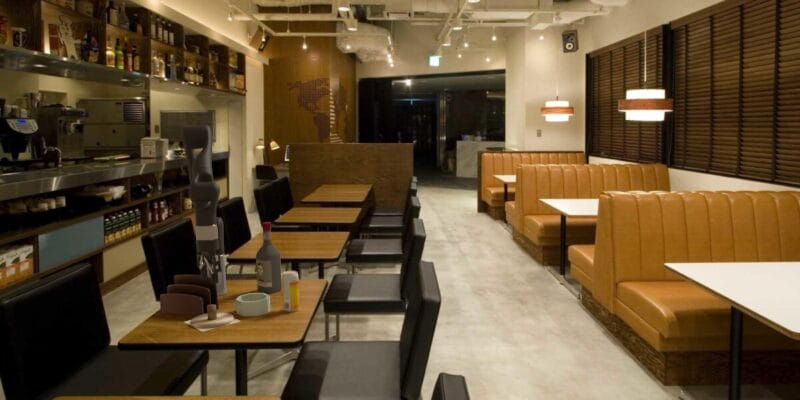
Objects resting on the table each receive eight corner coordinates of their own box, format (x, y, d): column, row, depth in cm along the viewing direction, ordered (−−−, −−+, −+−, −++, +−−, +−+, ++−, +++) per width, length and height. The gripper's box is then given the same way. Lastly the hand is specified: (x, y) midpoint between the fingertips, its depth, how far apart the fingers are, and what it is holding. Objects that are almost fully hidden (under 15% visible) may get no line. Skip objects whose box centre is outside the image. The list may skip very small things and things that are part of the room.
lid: (183, 321, 219) (182, 306, 218) (221, 312, 229) (220, 297, 228) (202, 331, 208) (201, 314, 207) (241, 321, 218) (240, 305, 217)
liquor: (270, 286, 267) (267, 220, 264) (284, 289, 262) (281, 222, 258) (254, 291, 260) (251, 223, 256) (269, 294, 255) (265, 225, 251)
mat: (183, 323, 219) (183, 321, 219) (221, 314, 229) (221, 312, 229) (202, 333, 208) (202, 331, 208) (241, 322, 218) (241, 321, 218)
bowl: (231, 312, 230) (231, 297, 230) (259, 305, 239) (258, 291, 238) (247, 319, 222) (246, 304, 221) (276, 312, 230) (275, 297, 229)
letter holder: (177, 306, 240) (175, 272, 238) (219, 310, 234) (217, 275, 232) (160, 314, 231) (157, 278, 229) (203, 318, 224) (201, 282, 223)
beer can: (302, 308, 234) (300, 270, 232) (294, 312, 229) (293, 274, 227) (288, 306, 236) (287, 270, 234) (281, 311, 231) (279, 273, 229)
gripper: (188, 236, 217) (191, 279, 219) (206, 241, 207) (208, 286, 209) (208, 233, 222) (210, 276, 224) (226, 238, 212) (228, 282, 214)
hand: (209, 281), depth 216 cm, fingers open, 8 cm apart
